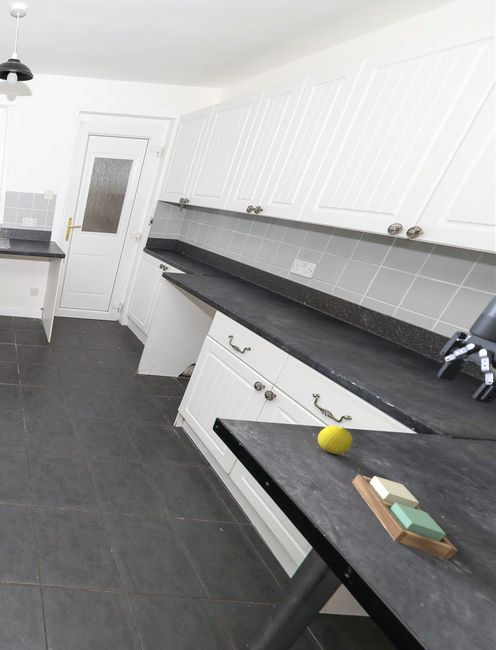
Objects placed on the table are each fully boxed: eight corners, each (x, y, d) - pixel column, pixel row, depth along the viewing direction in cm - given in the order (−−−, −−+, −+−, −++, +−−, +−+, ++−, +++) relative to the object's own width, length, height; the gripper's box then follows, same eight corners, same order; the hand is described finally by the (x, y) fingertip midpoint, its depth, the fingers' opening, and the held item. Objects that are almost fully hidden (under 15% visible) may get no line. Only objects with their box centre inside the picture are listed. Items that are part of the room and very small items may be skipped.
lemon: (346, 464, 79) (365, 439, 76) (318, 456, 81) (335, 431, 78) (333, 448, 84) (350, 423, 81) (307, 440, 86) (322, 416, 82)
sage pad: (414, 526, 65) (427, 512, 63) (432, 548, 61) (446, 534, 59) (383, 515, 66) (395, 502, 64) (399, 536, 62) (412, 522, 61)
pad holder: (394, 498, 71) (402, 487, 70) (447, 561, 59) (458, 550, 58) (350, 483, 74) (357, 473, 72) (392, 542, 62) (402, 531, 60)
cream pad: (391, 497, 70) (402, 484, 69) (407, 516, 66) (419, 502, 65) (364, 488, 72) (374, 475, 70) (377, 506, 68) (389, 493, 66)
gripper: (593, 338, 55) (522, 416, 61) (507, 310, 67) (456, 376, 73) (527, 327, 57) (466, 403, 63) (456, 302, 69) (411, 367, 76)
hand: (461, 389), depth 68 cm, fingers open, 8 cm apart
